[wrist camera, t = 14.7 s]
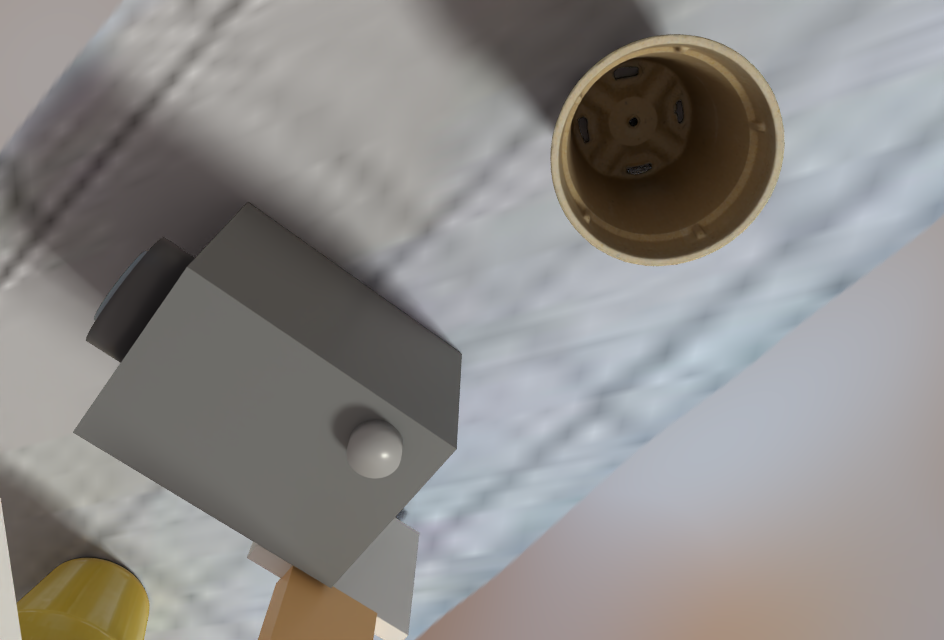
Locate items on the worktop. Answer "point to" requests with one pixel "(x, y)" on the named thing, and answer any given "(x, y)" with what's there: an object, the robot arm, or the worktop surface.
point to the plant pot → (85, 604)
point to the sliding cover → (345, 593)
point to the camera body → (273, 392)
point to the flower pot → (667, 150)
